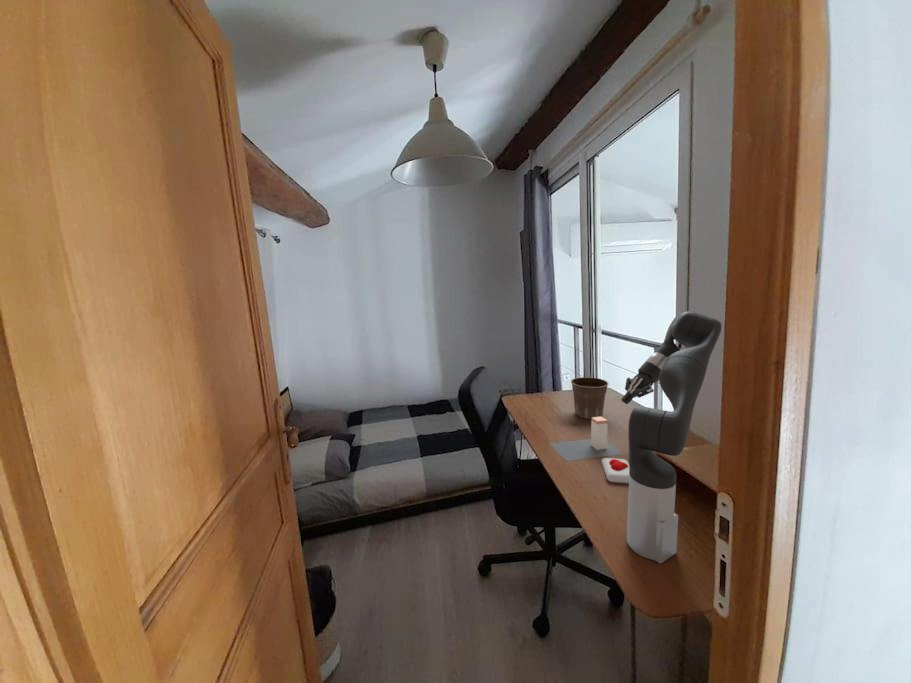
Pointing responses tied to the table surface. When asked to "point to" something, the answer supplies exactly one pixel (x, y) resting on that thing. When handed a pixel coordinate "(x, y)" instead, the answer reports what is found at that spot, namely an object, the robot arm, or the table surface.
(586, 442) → the grey rectangular mat
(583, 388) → the plant pot
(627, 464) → the icon
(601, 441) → the cream block
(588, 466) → the table surface
